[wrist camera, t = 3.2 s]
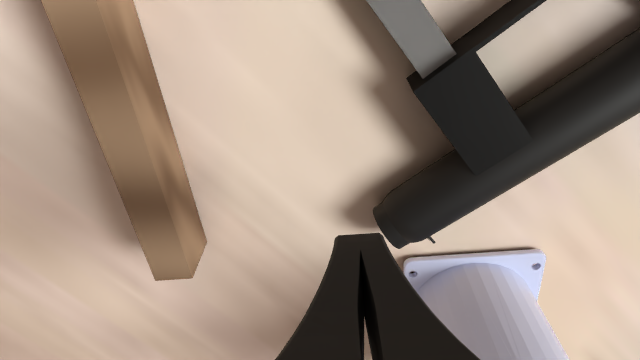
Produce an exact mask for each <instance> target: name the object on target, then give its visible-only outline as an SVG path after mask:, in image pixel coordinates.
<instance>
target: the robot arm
mask: <svg viewBox="0 0 640 360" xmlns="http://www.w3.org/2000/svg"><path fill="white" fill-rule="evenodd" d="M545 262H546V255H545V254H544V252H543V251H542V250H540V249H530V250H515V251H500V252H485V253H470V254H456V255H441V256H426V257H412V258H408V259H406V260H405V261H404V264H403V272H402V271H401V269H400V267H399V266H398V264H397V263H396V261H395V259H394V258H393V256H392V254H391V252H390V250H389V248H388V246H387V244H386V242H385V240H384V237H383V236H382V235H381V234H380V233H370V234H355V235H339V236H337V237H336V238H335V241H334V247H333V251H332V255H331V258H330V261H329V264H328V267H327V269H326V272H325V274H324V277H323V279H322V281H321V284H320V286H319V288H318V290H317V292H316V294H315V296H314V298H313V300H312V303H311V305H310V307H309V308H308V310H307V312H306V314H305V316H304V317H303V319H302V321H301V323H300V324H299V326H298V327H297V329H296V331H295V332H294V334H293V335H292V337H291V338H290V340H289V341H288V343H287V344H286V345H285V347H284V348H283V350H282V351H281V353H280V354H279V355H278V357H277V358H276V359H275V360H364V317H365V322H366V328H367V333H368V338H369V344H370V349H371V354H372V360H570V359H569V357H568V356H567V354H566V352H565V350H564V348H563V347H562V345H561V343H560V341H559V340H558V338H557V336H556V334H555V332H554V331H553V329H552V327H551V325H550V324H549V322H548V320H547V318H546V317H545V315H544V313H543V311H542V309H541V308H540V306H539V304H538V302H537V300H538V295H539V290H540V286H541V281H542V276H543V271H544V267H545ZM535 263H537V264H535ZM533 264H535V265H533ZM411 271H415V272H414V273H410V272H411Z"/></svg>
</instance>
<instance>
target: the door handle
mask: <svg viewBox="0 0 640 360" xmlns="http://www.w3.org/2000/svg"><path fill="white" fill-rule="evenodd" d="M366 1H367V2H368V4H369V5H370V6H371V8H372V9H373V11H374V12H375V13H376V15H377V16H378V17H379V19H380V20H381V22H382V23H383V24H384V26H385V27H386V29H387V30H388V31H389V33H390V34H391V35H392V37H393V38H394V40H395V41H396V42H397V44H398V45H399V47H400V48H401V49H402V51H403V52H404V53H405V55H406V56H407V58H408V59H409V60H410V62H411V63H412V65H413V66H414V67H415V69H416V70H417V71H415V72H414V73H413V74H411V75H410V76H409V77H407V78H406V79H407V80H408V82H409V84H410V86H411V88H412V90H413V92H414V94H415V95H416V96H417V98H418V99H419V100H420V102H421V103H422V104H423V106H424V107H425V108H426V110H427V111H428V112H429V114H430V115H431V116H432V118H433V119H434V120H435V122H436V123H437V125H438V126H439V127H440V129H441V130H442V131H443V133H444V134H445V135H446V137H447V138H448V139H449V141H450V142H451V143H452V145H453V146H454V147H455V150H454V151H452V152H450V153H449V154H447V155H446V156H444V157H443V158H441V159H440V160H438V161H437V162H435V163H434V164H432V165H431V166H429V167H428V168H426V169H424V170H423V171H421V172H420V173H418V174H417V175H415V176H414V177H412V178H411V179H409V180H408V181H406V182H405V183H403V184H402V185H400V186H399V187H397V188H395V189H394V190H392V191H391V192H390V193H389V194H388V195H387V196H386V198H385V199H384V201H383V202H382V203H381V204H379V205H378V206H376V207H375V208H374V209H373V214H374V217H375V220H376V222H377V224H378V226H379V228H380V230H381V231H382V233H383V234H384V236H385V237H386V238H387V240H388V241H389V242H390V243H391V244H392V245H393V246H394V247H396V248H398V249H400V248H402V247H404V246H405V245H407V244H409V243H414V242H419V241H422V240H424V239H426V238H429V239H430V240H431V241H432V242H433V243H435V241H434V240H433V239H432V238H431V235H433V234H435V233H436V232H438V231H440V230H441V229H443V228H445V227H446V226H448V225H450V224H452V223H453V222H455V221H457V220H458V219H460V218H462V217H463V216H465V215H467V214H469V213H470V212H472V211H474V210H475V209H477V208H479V207H480V206H482V205H484V204H486V203H487V202H489V201H491V200H492V199H494V198H496V197H497V196H499V195H501V194H503V193H504V192H506V191H508V190H509V189H511V188H513V187H514V186H516V185H518V184H519V183H521V182H523V181H525V180H526V179H528V178H530V177H531V176H533V175H535V174H536V173H538V172H540V171H542V170H543V169H545V168H547V167H548V166H550V165H552V164H553V163H555V162H557V161H559V160H560V159H562V158H564V157H565V156H567V155H569V154H570V153H572V152H574V151H576V150H577V149H579V148H581V147H582V146H584V145H586V144H587V143H589V142H591V141H593V140H594V139H596V138H598V137H599V136H601V135H603V134H604V133H606V132H608V131H610V130H611V129H613V128H615V127H616V126H618V125H620V124H621V123H623V122H625V121H627V120H628V119H630V118H632V117H633V116H635V115H637V114H638V113H640V29H638V30H637V31H635V32H634V33H632V34H631V35H629V36H628V37H626V38H625V39H623V40H622V41H620V42H619V43H617V44H616V45H614V46H612V47H611V48H609V49H608V50H606V51H605V52H603V53H602V54H600V55H599V56H597V57H596V58H594V59H593V60H591V61H590V62H588V63H586V64H585V65H583V66H582V67H580V68H579V69H577V70H576V71H574V72H573V73H571V74H570V75H568V76H567V77H565V78H564V79H562V80H561V81H559V82H557V83H556V84H554V85H553V86H551V87H550V88H548V89H547V90H545V91H544V92H542V93H541V94H539V95H538V96H536V97H535V98H533V99H531V100H530V101H528V102H527V103H525V104H524V105H522V106H521V107H519V108H518V109H516V110H515V111H514V110H513V108H512V107H511V105H510V104H509V102H508V101H507V99H506V98H505V96H504V95H503V93H502V92H501V90H500V89H499V87H498V86H497V84H496V82H495V81H494V79H493V78H492V76H491V75H490V73H489V72H488V70H487V69H486V67H485V66H484V64H483V63H482V61H481V60H480V58H479V56H478V55H477V53H476V51H478V50H479V49H480V48H482V47H483V46H484V45H486V44H487V43H489V42H490V41H491V40H493V39H494V38H495V37H497V36H498V35H500V34H501V33H502V32H504V31H505V30H506V29H508V28H509V27H510V26H512V25H513V24H515V23H516V22H517V21H519V20H520V19H521V18H523V17H524V16H526V15H527V14H528V13H530V12H531V11H532V10H534V9H535V8H537V7H538V6H539V5H541V4H542V3H543V2H545V1H546V0H511V1H509V2H508V3H507V4H505V5H504V6H503V7H501V8H500V9H499V10H497V11H496V12H495V13H493V14H492V15H491V16H489V17H488V18H487V19H485V20H484V21H483V22H481V23H480V24H479V25H477V26H476V27H475V28H473V29H472V30H471V31H469V32H468V33H467V34H465V35H464V36H463V37H461V38H460V39H458V40H457V41H455V42H454V43H453V44H451V45H450V43H449V42H448V40H447V39H446V37H445V36H444V34H443V33H442V31H441V30H440V28H439V27H438V25H437V24H436V22H435V21H434V19H433V18H432V16H431V15H430V13H429V12H428V10H427V9H426V7H425V6H424V4H423V3H422V2H421V0H366Z"/></svg>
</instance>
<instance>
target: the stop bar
mask: <svg viewBox="0 0 640 360" xmlns="http://www.w3.org/2000/svg"><path fill="white" fill-rule="evenodd" d="M41 1H42V4H43V6H44V9H45V11H46V14H47V16H48V19H49V21H50V23H51V26H52V28H53V31H54V33H55V36H56V38H57V41H58V43H59V46H60V48H61V50H62V53H63V55H64V58H65V60H66V63H67V65H68V68H69V70H70V73H71V75H72V77H73V80H74V82H75V85H76V87H77V90H78V92H79V95H80V97H81V100H82V102H83V104H84V107H85V109H86V112H87V114H88V117H89V119H90V122H91V124H92V127H93V129H94V131H95V134H96V136H97V139H98V141H99V144H100V146H101V149H102V151H103V154H104V156H105V158H106V161H107V163H108V166H109V168H110V171H111V173H112V176H113V178H114V180H115V183H116V185H117V188H118V190H119V193H120V195H121V198H122V200H123V203H124V205H125V207H126V210H127V212H128V215H129V217H130V220H131V222H132V225H133V227H134V230H135V232H136V234H137V237H138V239H139V242H140V244H141V247H142V249H143V252H144V254H145V257H146V259H147V261H148V264H149V266H150V269H151V271H152V274H153V276H154V279H155V281H159V280H174V279H189V278H193V275H194V273H195V271H196V268H197V266H198V263H199V261H200V258H201V256H202V253H203V251H204V248H205V246H206V243H207V240H206V237H205V234H204V231H203V227H202V224H201V221H200V217H199V214H198V211H197V208H196V204H195V201H194V198H193V195H192V191H191V188H190V185H189V181H188V178H187V175H186V172H185V168H184V165H183V162H182V159H181V155H180V152H179V149H178V146H177V142H176V139H175V136H174V132H173V129H172V126H171V123H170V119H169V116H168V113H167V110H166V106H165V103H164V100H163V97H162V93H161V90H160V87H159V83H158V80H157V77H156V74H155V70H154V67H153V64H152V61H151V57H150V54H149V51H148V48H147V44H146V41H145V38H144V34H143V31H142V28H141V25H140V21H139V18H138V15H137V12H136V8H135V5H134V2H133V0H41Z"/></svg>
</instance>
